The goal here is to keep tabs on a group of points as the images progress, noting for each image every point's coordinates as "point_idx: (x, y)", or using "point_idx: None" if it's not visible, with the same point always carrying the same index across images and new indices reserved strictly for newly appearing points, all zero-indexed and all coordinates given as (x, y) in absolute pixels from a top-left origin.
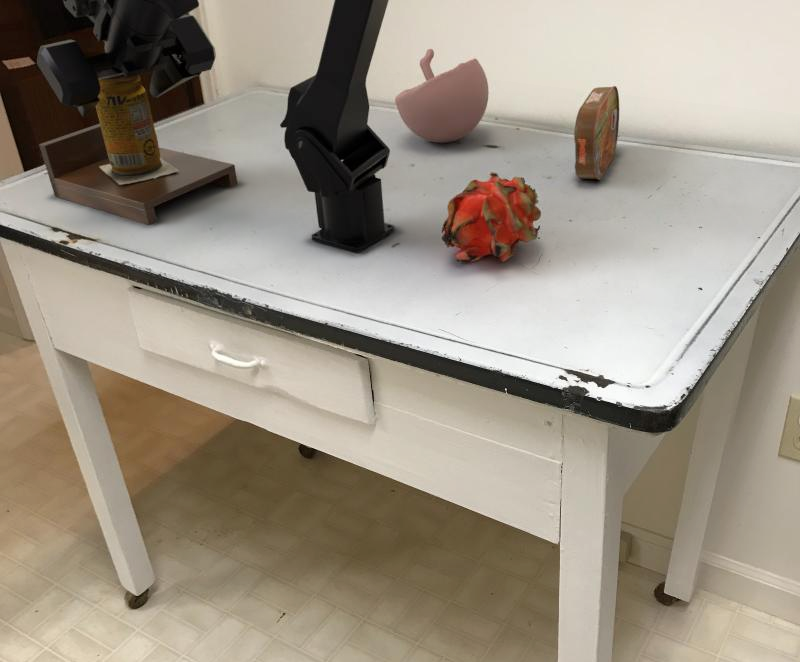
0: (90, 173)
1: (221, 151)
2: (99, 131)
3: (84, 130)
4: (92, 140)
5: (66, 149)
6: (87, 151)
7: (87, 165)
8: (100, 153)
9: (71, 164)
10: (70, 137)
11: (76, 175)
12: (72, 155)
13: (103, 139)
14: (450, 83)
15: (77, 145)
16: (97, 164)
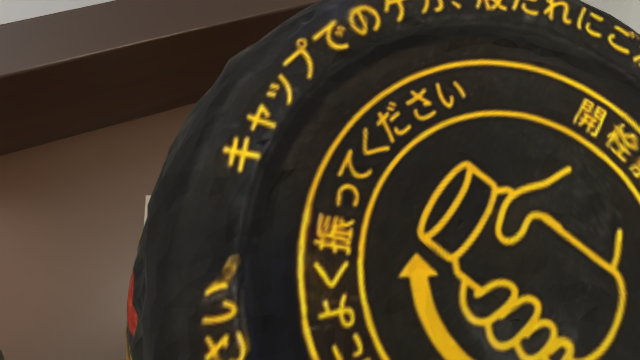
0: (89, 232)
1: None
2: (223, 36)
3: (143, 20)
4: (171, 64)
5: (4, 104)
6: (131, 94)
7: (120, 122)
8: (197, 90)
9: (32, 133)
10: (33, 71)
11: (27, 212)
12: (40, 115)
13: (232, 55)
14: None
15: (77, 86)
16: (161, 138)
